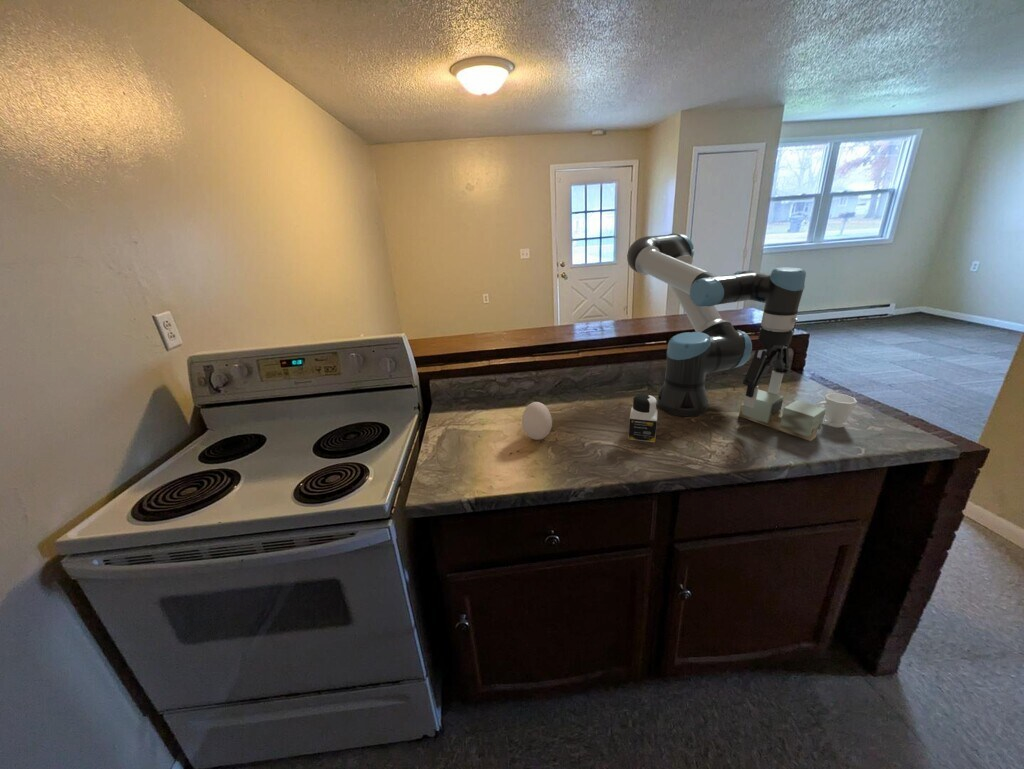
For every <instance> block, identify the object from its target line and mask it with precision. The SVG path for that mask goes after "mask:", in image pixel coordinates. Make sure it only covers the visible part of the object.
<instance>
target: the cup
mask: <svg viewBox="0 0 1024 769" xmlns="http://www.w3.org/2000/svg"><path fill="white" fill-rule="evenodd" d="M824 397H825V398H824V400H823V401H819V402H817V403H816V404H815V406H818V407H821V405H824V408H825V409H826V411H825V415H824V419H825V420H824V419H823V422H822V425H825V426H826V425H827V426H829V427H832V428H842V427H844V426H845V425H844V424H845V423H846V422H847V420H848V419H849V418H850V416H851V414H852V413H853V410H854V408H855V407H856V405H857V403H858V400H856V398H855V397H853V396H850V395H847V394H845V393H844V394H843V393H834V392H831V393H828V394H825V396H824Z"/></svg>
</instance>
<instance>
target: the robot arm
mask: <svg viewBox="0 0 1024 769" xmlns="http://www.w3.org/2000/svg"><path fill="white" fill-rule="evenodd" d="M693 249H694V244H693V241H692V240H691V239H690V238H689V237H688V236H687V235H686V234H684V233H683V234H682V233H670V234H663V235H661V234H660V235H651V236H649V235H648V236H643V237H639V238H638V239H636V240H635V241H633V243H632V244H631V245H630V247H629V248H628V251H627V254H626V255H627V256H626V259H627V260H626V261H627V263H628V264H627V265H629V268H630V269H631V270H632V271H634V272H636V273H638V274H640V275H642V276H648V275H649V276H652V277H653V278H656V279H657V280H659V281H661V282H663V283H665V284H668V285H669V286H670V287H671V289H672V291H673V293H674V295H675V296H676V298H677V300H678V302H679V304H680V305H681V308H682V309H683V311H684V312H685V313H684V314H686V316H687V318H688V320H689V322H690V324H691V325H692V327H693V329H694V331H692V332H689V331H688V332H681V333H677V334H676V335H674V336H672V337H671V338H670V339H669V341H668V343H667V348H666V364H665V374H664V382H663V384H662V387H661V388H660V391H659V392H658V396H657V398H656V407H657V408H659V409H660V410H661V411H662V412H665V413H667V414H670V415H674V416H680V417H695V416H696V417H697V416H702V415H703V414H705V413H706V412H707V411H708V407H709V400H708V396H707V393H706V387H705V383H706V375H707V374H710V373H717V372H722V371H727V370H734V369H735V368H740V367H741V366H743V365H745V364H746V363H747V362H748V361H749V360H750V358H751V356H752V354H751V353H752V352H753V343H752V340H751V337H750V336H749V335H748V334H747V333H746V332H745V331H742V330H740V329H737V330H736V329H735V328H734V325H733V324H732V323H731V321H729V320H724V319H723V318H722V316H721V315H720V313H719V311H718V310H717V307H716V306H718V305H724V304H730V303H737V302H739V303H740V302H745V301H753V302H759V303H764V308H763V311H762V317H761V322H760V326H761V327H760V328H759V333H758V338H757V339H758V341H759V342H760V343H762V348H761V349H758V348H756V349H755V350H754V353H753V354H754V355H753V358H752V360H751V363H750V365H749V368H748V370H747V372H746V374H745V377H744V379H743V382H742V384H743V385H745V386H746V389H745V394H744V399H743V405H745V406H748V407H751V408H754V407H755V402H756V398H757V393H758V389H759V387H760V386H759V383H760V382H761V379H762V378H763V377H764V374H765V373H766V370H767V369H768V367H771V365H772V366H773V370H772V372H771V375H770V380H769V384H768V390H767V392H769V393H773V394H776V395H779V394H780V389H781V385H782V381H783V377H784V374H788V373H789V367H790V358H789V356H790V354H789V353H790V352H789V347H790V344H791V343H792V338H793V336H794V335H793V334H794V331H793V329H794V328H795V324H796V323H797V322H798V320H799V319H798V318H797V315H798V313H799V306H800V303H801V299H802V296H803V292H804V290H805V283H806V282H805V281H806V277H807V272H806V270H805V269H803V268H799V267H788V266H787V267H783V266H782V267H776V268H773V269H772V270H771V273H765V272H758V271H753V270H737V271H736V272H735V273H733V274H727V275H718V274H714V273H712V272H709V271H707V270H704V269H702V268H699V267H697V266H695V265H693V263H694V262H693V259H694V254H695V252H694V251H693Z"/></svg>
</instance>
